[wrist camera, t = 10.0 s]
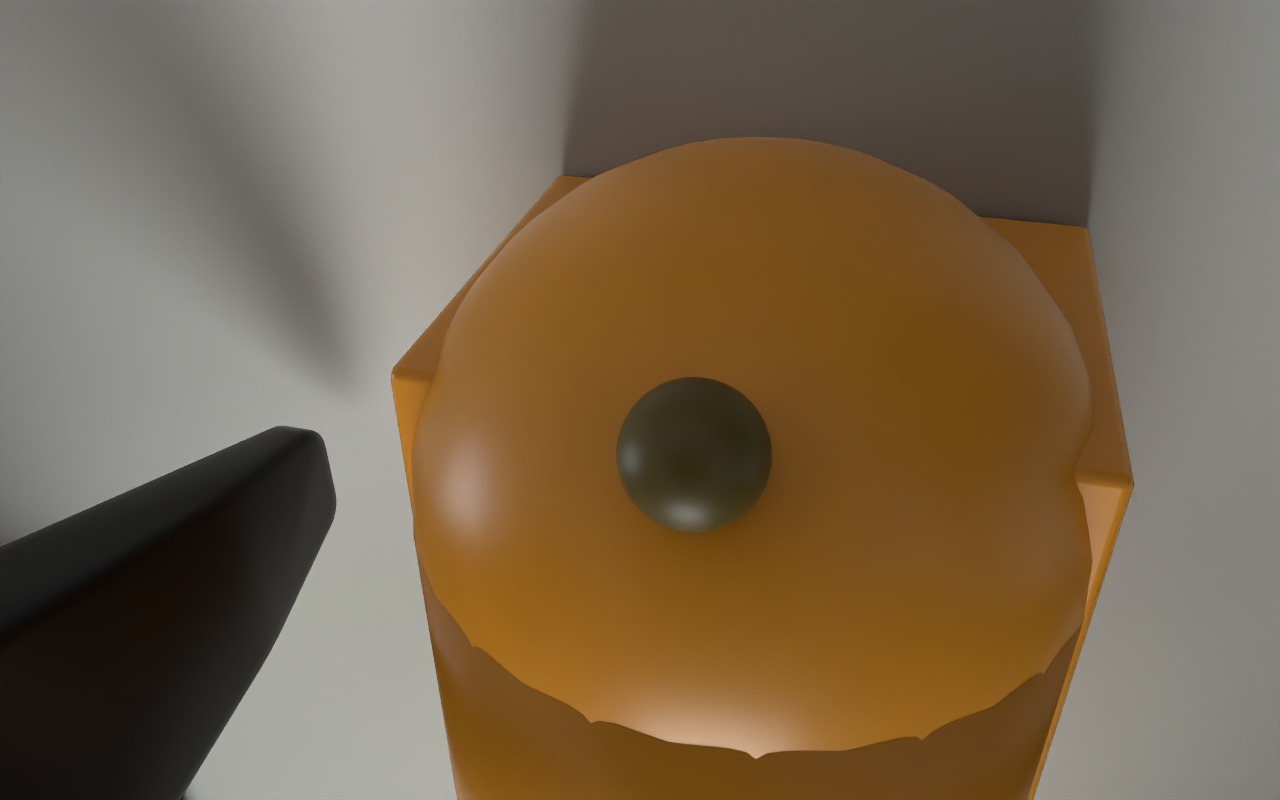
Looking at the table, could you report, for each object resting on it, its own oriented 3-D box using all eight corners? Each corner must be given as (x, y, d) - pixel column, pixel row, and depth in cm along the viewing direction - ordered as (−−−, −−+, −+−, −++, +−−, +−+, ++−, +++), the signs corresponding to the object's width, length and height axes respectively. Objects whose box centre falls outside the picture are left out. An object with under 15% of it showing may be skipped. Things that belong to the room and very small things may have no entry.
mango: (952, 817, 12) (938, 1320, 8) (578, 734, 13) (417, 1153, 9) (1146, 63, 7) (1307, 456, 4) (536, 22, 8) (176, 299, 5)
